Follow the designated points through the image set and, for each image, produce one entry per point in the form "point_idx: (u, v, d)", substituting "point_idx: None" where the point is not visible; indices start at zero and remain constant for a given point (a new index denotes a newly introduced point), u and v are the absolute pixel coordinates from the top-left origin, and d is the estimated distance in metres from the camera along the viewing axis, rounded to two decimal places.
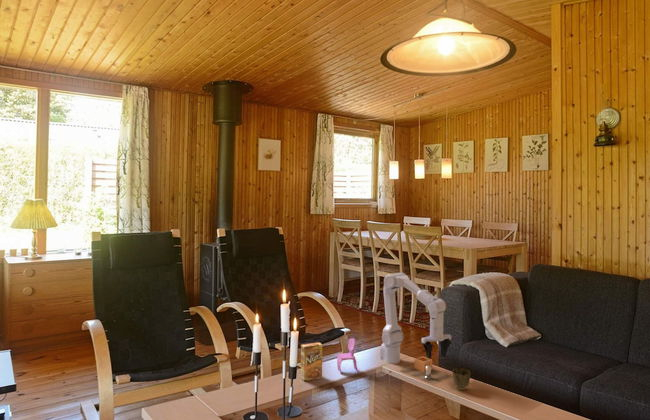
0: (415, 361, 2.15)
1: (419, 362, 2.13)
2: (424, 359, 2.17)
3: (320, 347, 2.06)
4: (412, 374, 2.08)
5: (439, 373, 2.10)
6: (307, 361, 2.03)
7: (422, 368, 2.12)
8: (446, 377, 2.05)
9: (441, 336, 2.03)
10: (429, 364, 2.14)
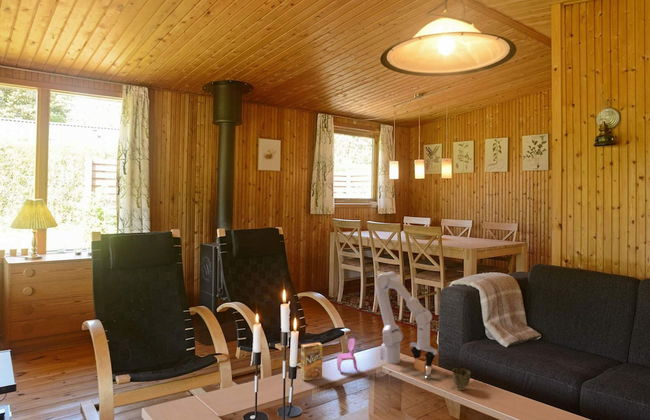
0: (415, 361, 2.15)
1: (419, 362, 2.13)
2: (424, 359, 2.17)
3: (320, 347, 2.06)
4: (412, 374, 2.08)
5: (439, 373, 2.10)
6: (307, 361, 2.03)
7: (422, 368, 2.12)
8: (446, 377, 2.05)
9: (420, 346, 2.13)
10: None
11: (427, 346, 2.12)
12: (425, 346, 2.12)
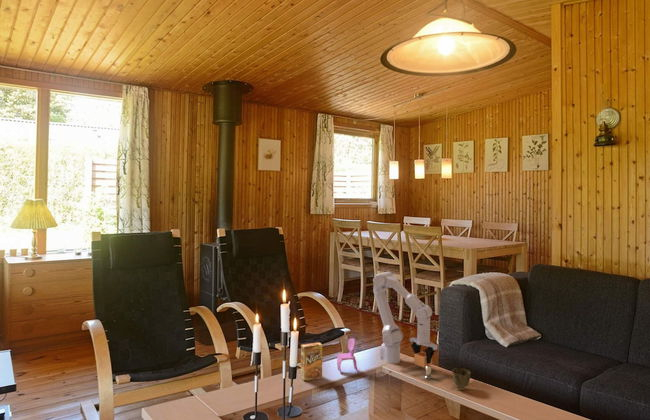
0: (415, 356, 2.15)
1: (419, 357, 2.13)
2: (424, 354, 2.17)
3: (320, 347, 2.06)
4: (412, 374, 2.08)
5: (439, 373, 2.10)
6: (307, 361, 2.03)
7: (422, 363, 2.12)
8: (446, 377, 2.05)
9: (420, 341, 2.12)
10: None
11: (427, 341, 2.12)
12: (425, 341, 2.12)
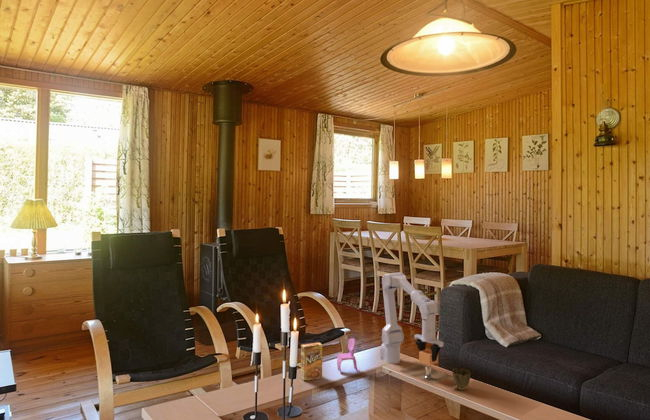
0: (420, 354, 2.04)
1: (424, 355, 2.03)
2: (429, 352, 2.07)
3: (320, 347, 2.06)
4: (412, 374, 2.08)
5: (439, 373, 2.10)
6: (307, 361, 2.03)
7: (427, 361, 2.01)
8: (446, 377, 2.05)
9: (425, 338, 2.02)
10: None
11: (432, 338, 2.02)
12: (430, 338, 2.01)
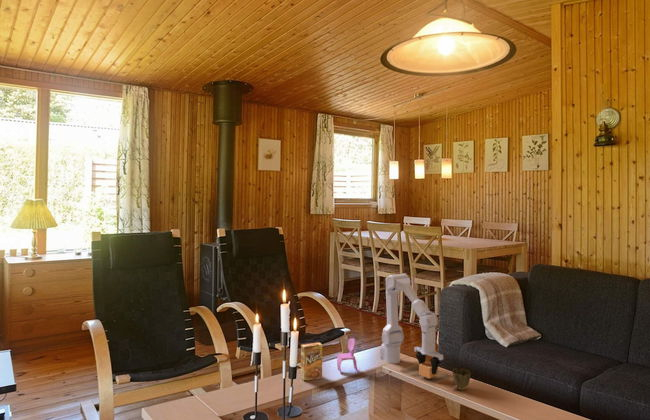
0: (420, 367, 2.05)
1: (424, 368, 2.03)
2: (429, 364, 2.07)
3: (320, 347, 2.06)
4: (412, 374, 2.08)
5: (439, 373, 2.10)
6: (307, 361, 2.03)
7: (427, 374, 2.01)
8: (446, 377, 2.05)
9: (425, 350, 2.02)
10: None
11: (432, 351, 2.02)
12: (430, 351, 2.02)
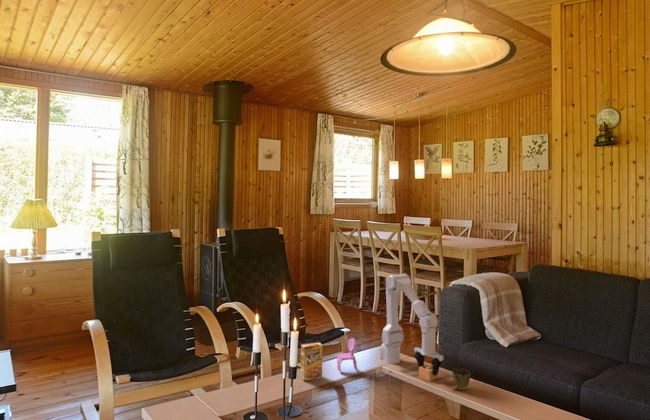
0: (420, 369, 2.05)
1: (424, 371, 2.03)
2: None
3: (320, 347, 2.06)
4: (412, 374, 2.08)
5: (439, 373, 2.10)
6: (307, 361, 2.03)
7: (427, 377, 2.02)
8: (446, 377, 2.05)
9: (425, 351, 2.02)
10: None
11: (432, 352, 2.02)
12: (430, 352, 2.02)
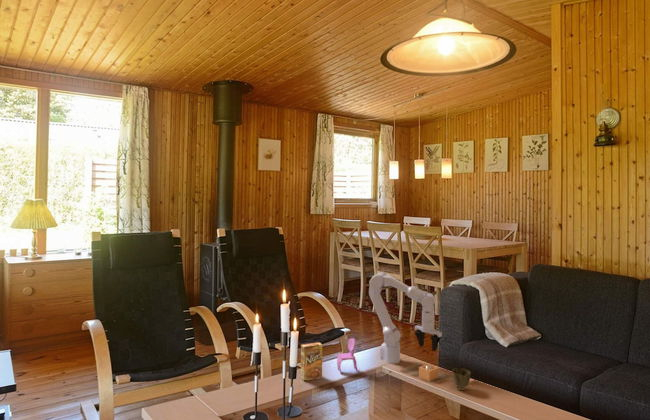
0: (420, 369, 2.05)
1: (424, 371, 2.03)
2: None
3: (320, 347, 2.06)
4: (412, 374, 2.08)
5: (439, 373, 2.10)
6: (307, 361, 2.03)
7: (427, 377, 2.02)
8: (446, 377, 2.05)
9: (425, 328, 2.16)
10: (435, 373, 2.03)
11: (432, 329, 2.16)
12: (430, 329, 2.15)
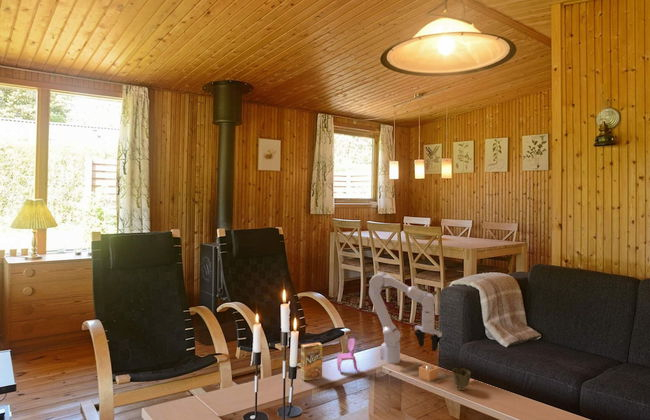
0: (420, 369, 2.05)
1: (424, 371, 2.03)
2: None
3: (320, 347, 2.06)
4: (412, 374, 2.08)
5: (439, 373, 2.10)
6: (307, 361, 2.03)
7: (427, 377, 2.02)
8: (446, 377, 2.05)
9: (425, 328, 2.16)
10: (435, 373, 2.03)
11: (432, 329, 2.16)
12: (430, 329, 2.15)
